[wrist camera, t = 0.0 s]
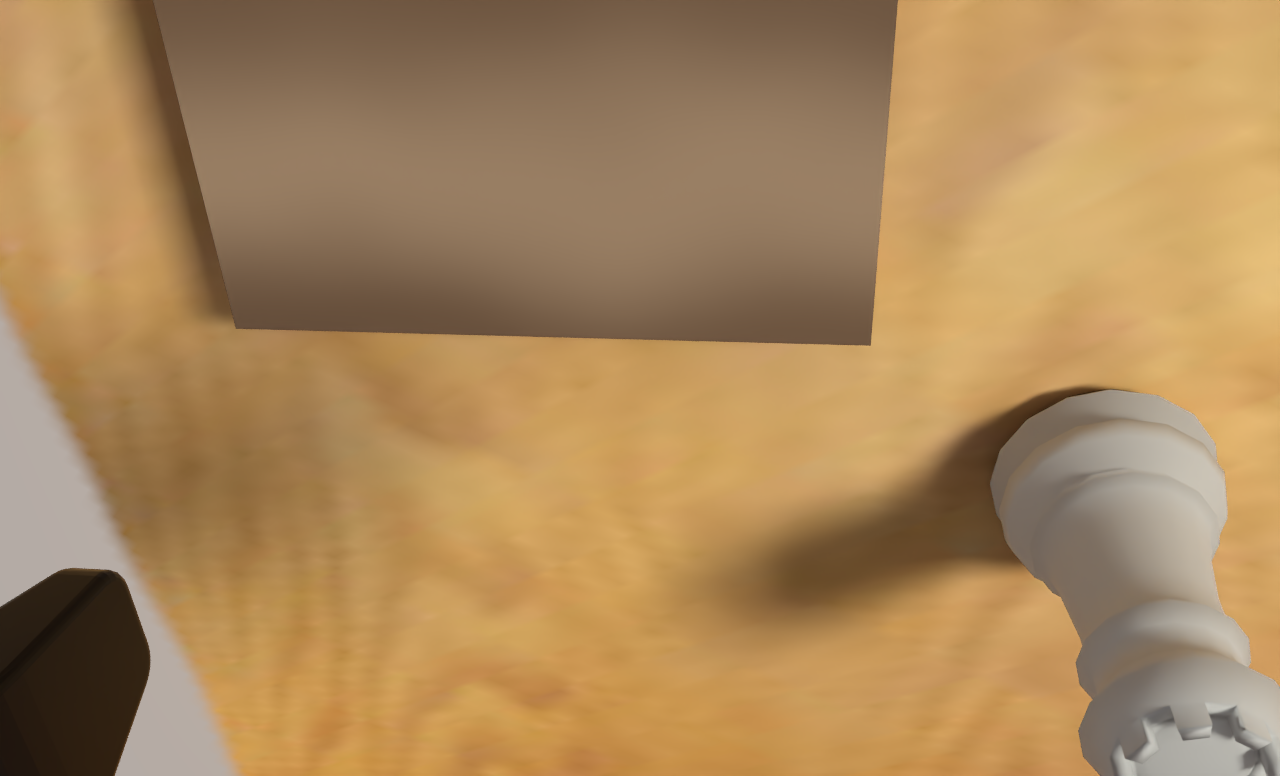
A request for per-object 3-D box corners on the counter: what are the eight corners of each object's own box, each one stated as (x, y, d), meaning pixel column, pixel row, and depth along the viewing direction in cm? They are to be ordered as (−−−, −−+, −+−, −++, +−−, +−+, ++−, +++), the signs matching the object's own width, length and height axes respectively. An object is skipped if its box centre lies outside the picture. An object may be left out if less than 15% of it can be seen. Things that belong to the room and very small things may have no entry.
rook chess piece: (1085, 580, 27) (1177, 905, 21) (941, 470, 26) (989, 777, 19) (1260, 462, 25) (1425, 782, 18) (1112, 335, 24) (1230, 631, 17)
